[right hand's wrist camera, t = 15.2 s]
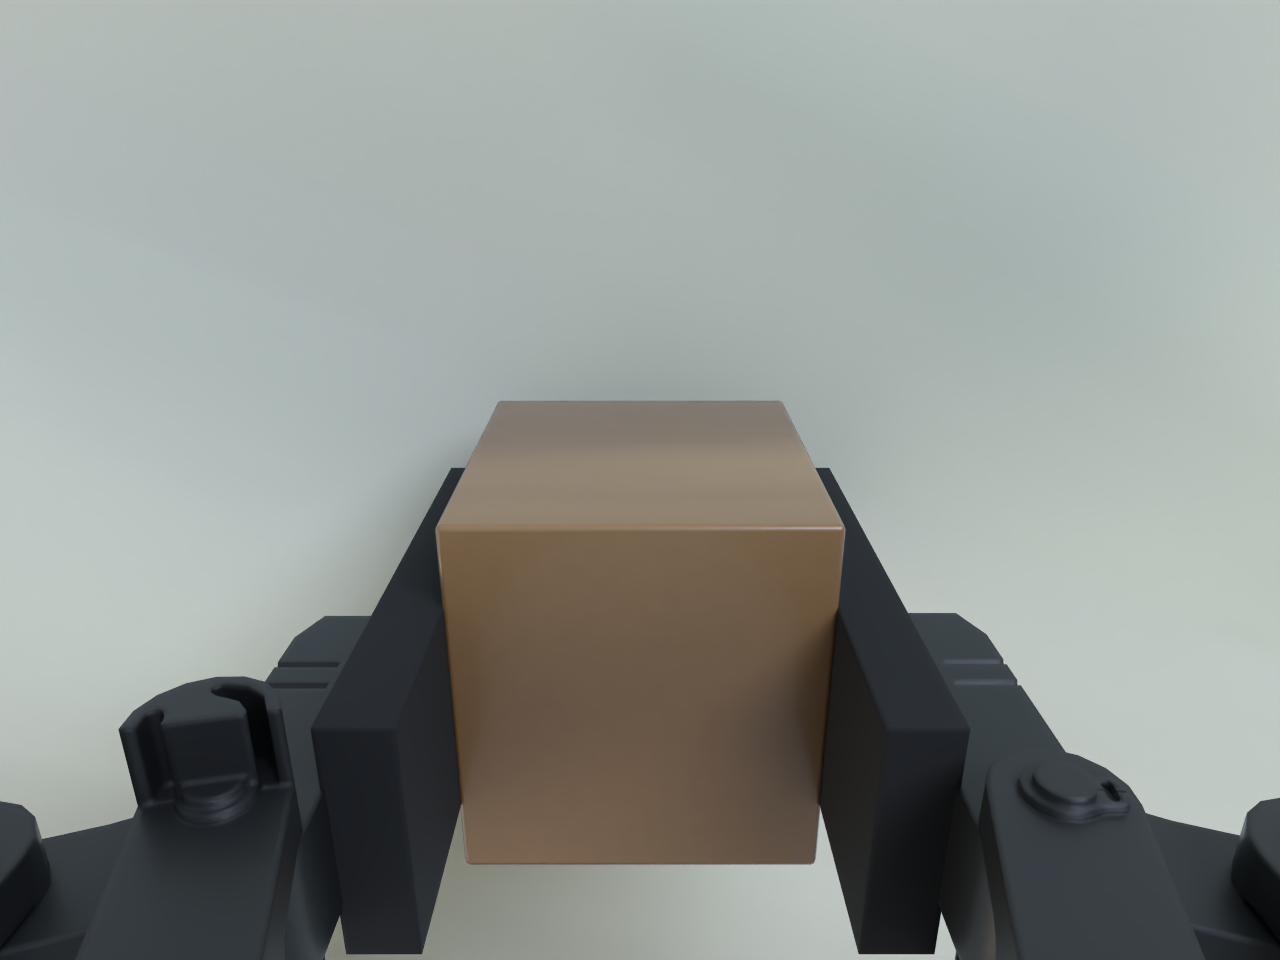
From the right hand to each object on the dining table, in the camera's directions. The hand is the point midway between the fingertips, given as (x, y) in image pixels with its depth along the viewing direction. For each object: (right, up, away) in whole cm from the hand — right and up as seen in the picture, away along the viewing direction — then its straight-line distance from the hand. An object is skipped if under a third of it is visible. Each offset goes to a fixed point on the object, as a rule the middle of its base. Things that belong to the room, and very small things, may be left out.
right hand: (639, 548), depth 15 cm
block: (0, 0, 0) cm, 0 cm away
